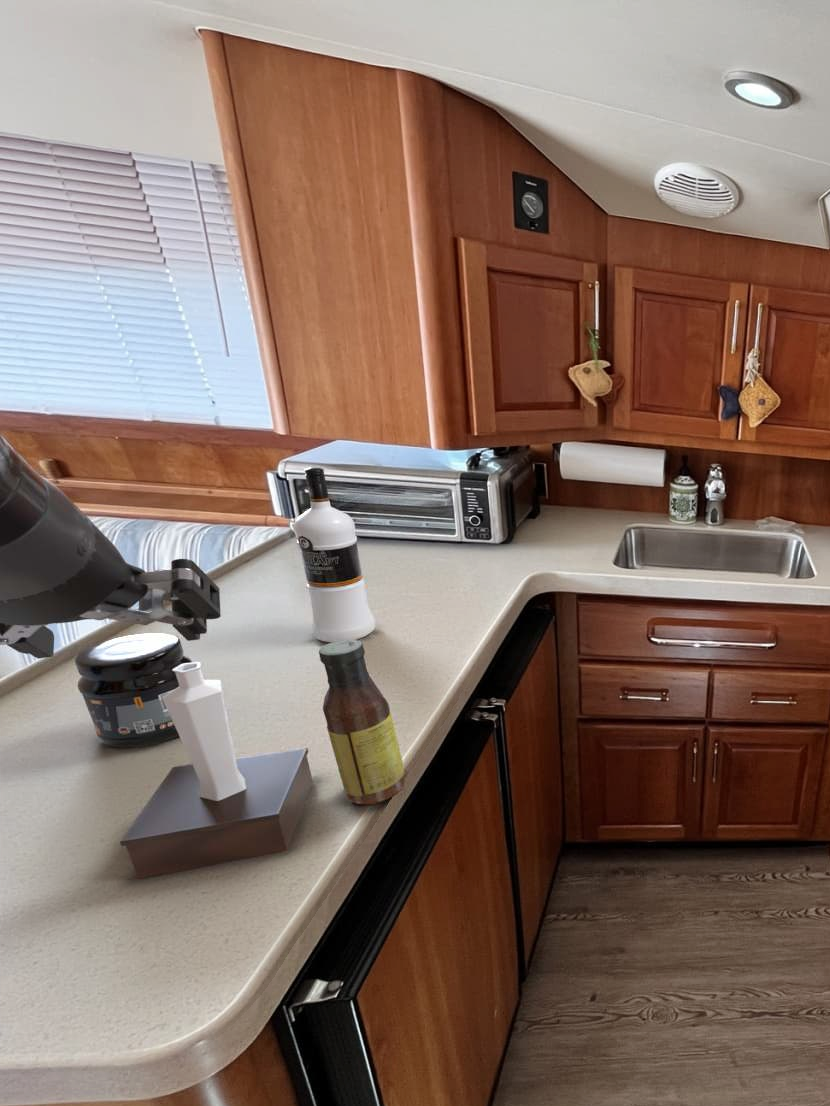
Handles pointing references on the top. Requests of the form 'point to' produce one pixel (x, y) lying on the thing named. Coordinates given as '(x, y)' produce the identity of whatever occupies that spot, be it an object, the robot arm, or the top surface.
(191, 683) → the white faceted vase
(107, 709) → the supplement container
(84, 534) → the robot arm
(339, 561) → the vodka
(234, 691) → the top surface
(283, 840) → the box
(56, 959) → the top surface
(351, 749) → the sauce bottle
